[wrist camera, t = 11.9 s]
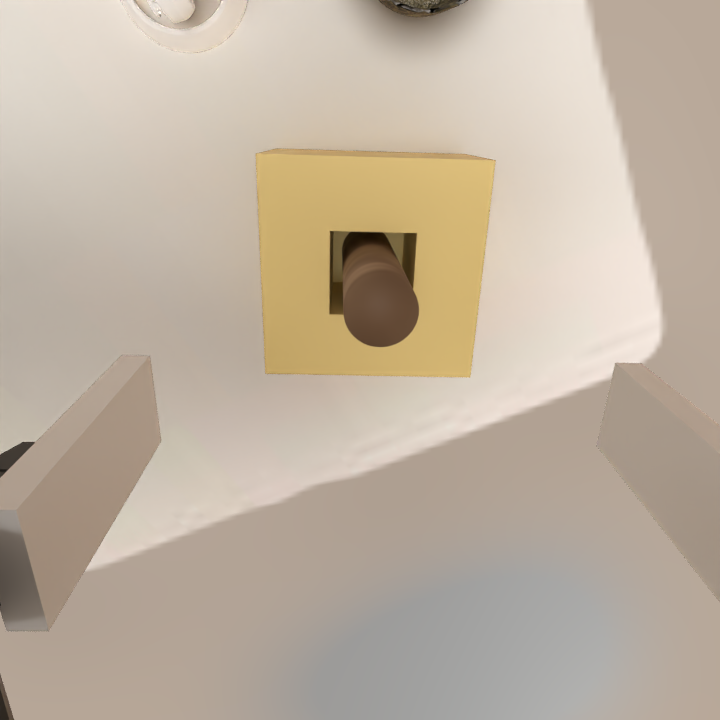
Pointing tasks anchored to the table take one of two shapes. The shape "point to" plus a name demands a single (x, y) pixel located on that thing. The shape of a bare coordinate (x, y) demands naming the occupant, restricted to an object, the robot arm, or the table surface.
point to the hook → (178, 9)
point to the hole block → (407, 237)
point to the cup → (421, 6)
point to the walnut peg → (376, 291)
